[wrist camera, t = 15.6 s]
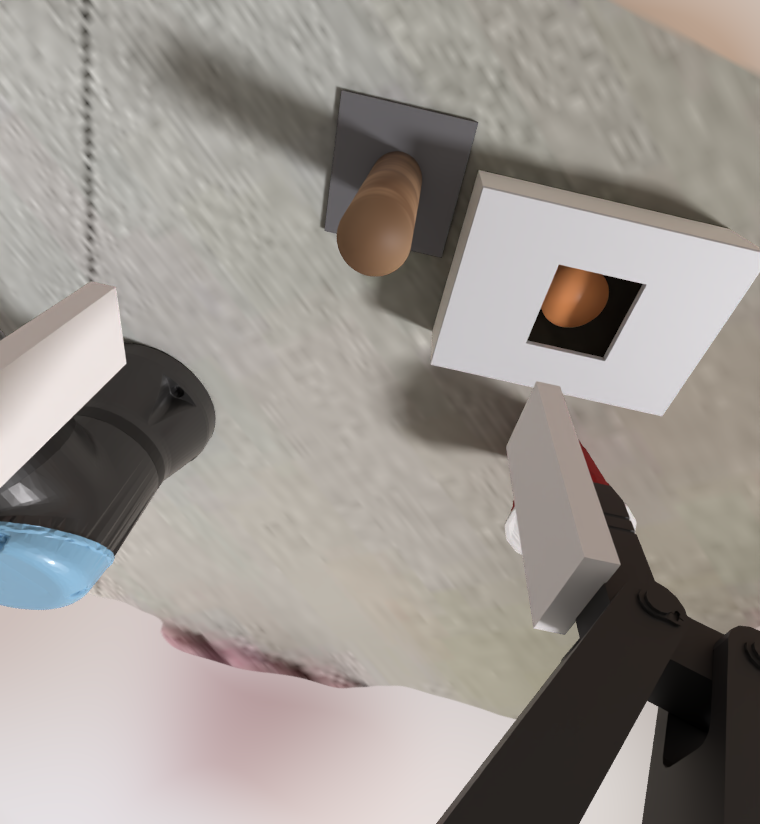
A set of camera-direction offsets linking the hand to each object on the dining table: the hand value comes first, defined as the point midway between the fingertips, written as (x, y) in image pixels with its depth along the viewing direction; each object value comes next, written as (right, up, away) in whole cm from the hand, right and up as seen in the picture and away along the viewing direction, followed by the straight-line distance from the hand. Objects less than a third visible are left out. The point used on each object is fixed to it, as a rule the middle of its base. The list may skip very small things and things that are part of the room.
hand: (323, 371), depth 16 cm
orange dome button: (+18, +9, +26) cm, 33 cm away
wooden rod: (+3, +17, +23) cm, 28 cm away
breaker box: (+18, +9, +26) cm, 33 cm away
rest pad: (+3, +17, +23) cm, 29 cm away
